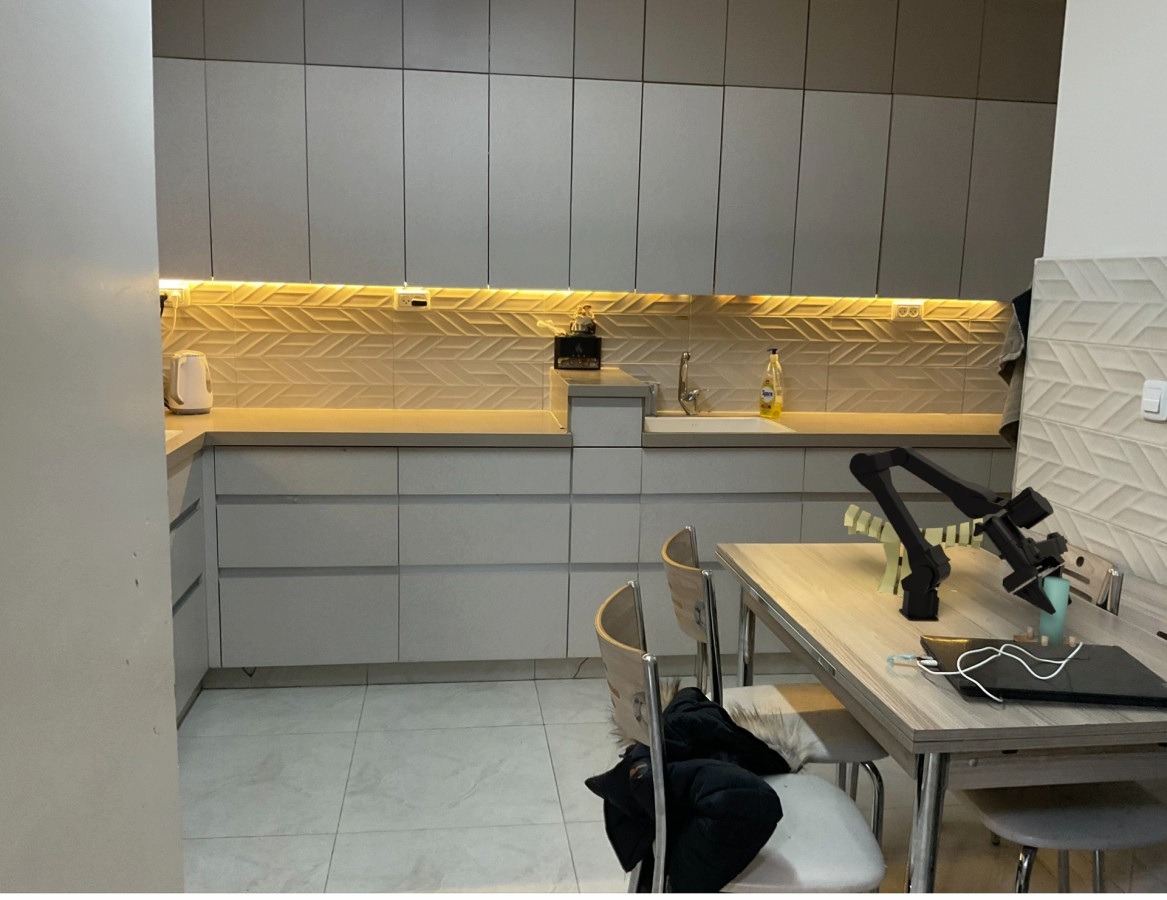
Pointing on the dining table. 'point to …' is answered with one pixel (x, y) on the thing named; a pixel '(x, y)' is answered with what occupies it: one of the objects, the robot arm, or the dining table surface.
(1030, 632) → the base
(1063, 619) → the post
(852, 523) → the slatted curved stool
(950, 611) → the dining table surface
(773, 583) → the dining table surface
